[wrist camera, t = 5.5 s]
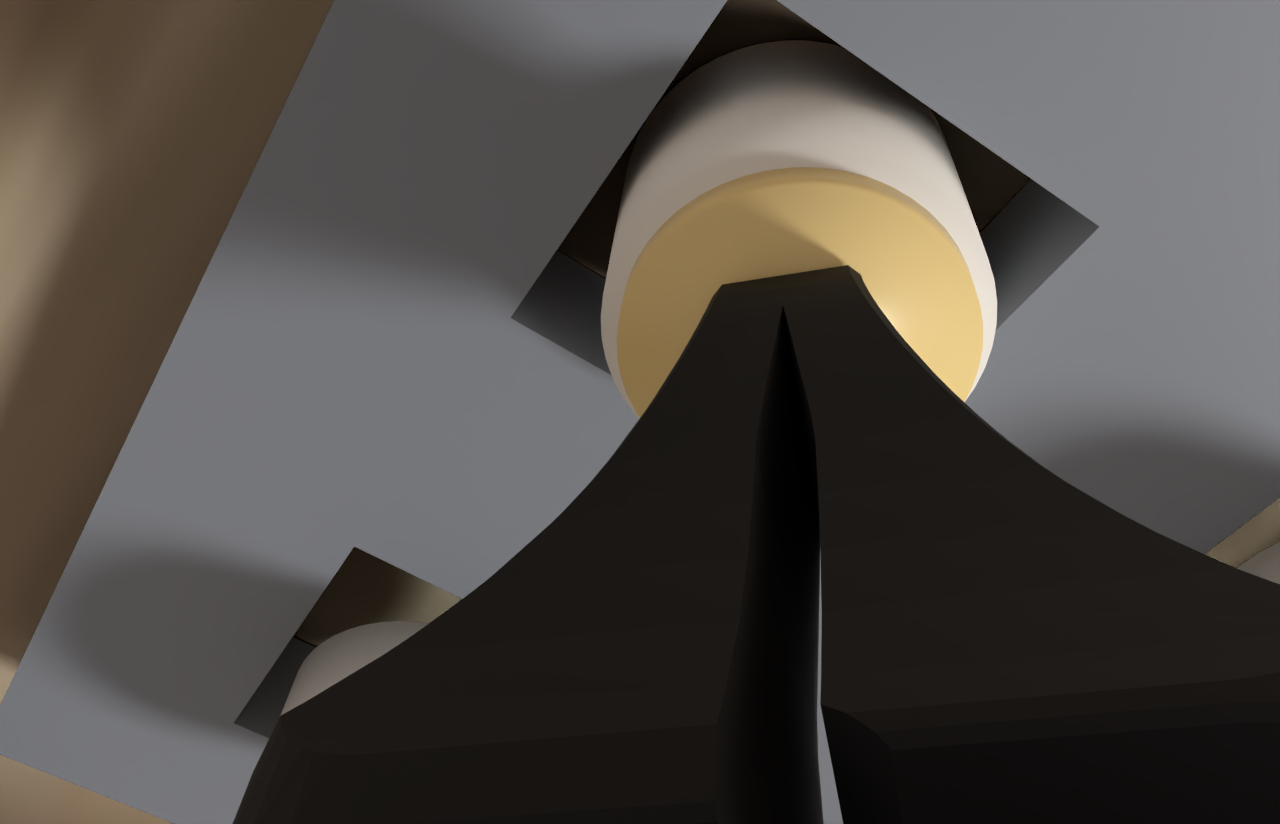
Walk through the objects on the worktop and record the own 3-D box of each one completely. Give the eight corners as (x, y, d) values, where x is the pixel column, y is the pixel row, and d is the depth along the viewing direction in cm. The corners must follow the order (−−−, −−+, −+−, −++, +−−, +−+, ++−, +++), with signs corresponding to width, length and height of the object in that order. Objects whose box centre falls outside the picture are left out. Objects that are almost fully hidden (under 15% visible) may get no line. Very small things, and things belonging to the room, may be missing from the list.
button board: (1914, 451, 15) (2052, 553, 14) (917, 1027, 26) (929, 1124, 24) (657, -615, 10) (641, -649, 8) (40, 653, 21) (-20, 746, 19)
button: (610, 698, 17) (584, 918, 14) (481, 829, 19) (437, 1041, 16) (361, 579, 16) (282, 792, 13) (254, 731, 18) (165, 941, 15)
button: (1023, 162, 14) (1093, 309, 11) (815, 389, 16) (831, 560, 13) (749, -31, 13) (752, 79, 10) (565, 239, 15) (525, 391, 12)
